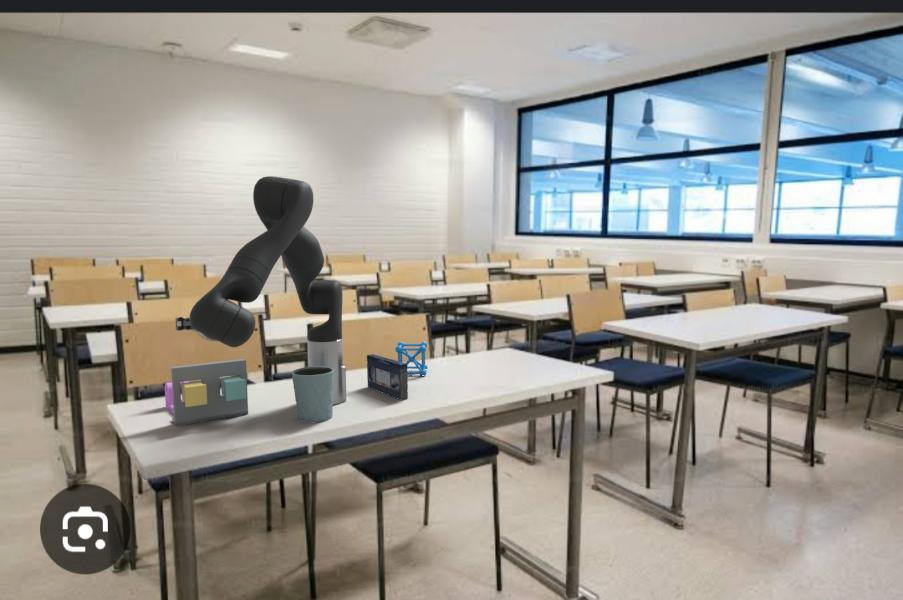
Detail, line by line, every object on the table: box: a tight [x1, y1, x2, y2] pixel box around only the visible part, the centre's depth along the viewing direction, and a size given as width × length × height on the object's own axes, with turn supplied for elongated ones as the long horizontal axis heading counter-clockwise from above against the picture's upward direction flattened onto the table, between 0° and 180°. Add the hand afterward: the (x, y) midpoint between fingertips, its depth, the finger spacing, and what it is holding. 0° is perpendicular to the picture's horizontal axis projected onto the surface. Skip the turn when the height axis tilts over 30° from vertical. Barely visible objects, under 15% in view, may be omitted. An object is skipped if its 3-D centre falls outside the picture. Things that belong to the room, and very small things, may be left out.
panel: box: [170, 358, 249, 427], centre depth 148 cm, size 17×5×14 cm, turn 123°
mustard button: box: [181, 380, 207, 407], centre depth 141 cm, size 5×6×5 cm
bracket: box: [164, 381, 191, 414], centre depth 155 cm, size 13×6×7 cm, turn 40°
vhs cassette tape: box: [366, 353, 409, 400], centre depth 171 cm, size 18×3×10 cm, turn 37°
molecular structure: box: [394, 341, 429, 376], centre depth 195 cm, size 10×10×10 cm
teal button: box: [220, 375, 246, 401], centre depth 146 cm, size 5×6×5 cm
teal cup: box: [291, 366, 334, 423], centre depth 148 cm, size 10×10×12 cm
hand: (210, 323), depth 132 cm, fingers open, 8 cm apart
